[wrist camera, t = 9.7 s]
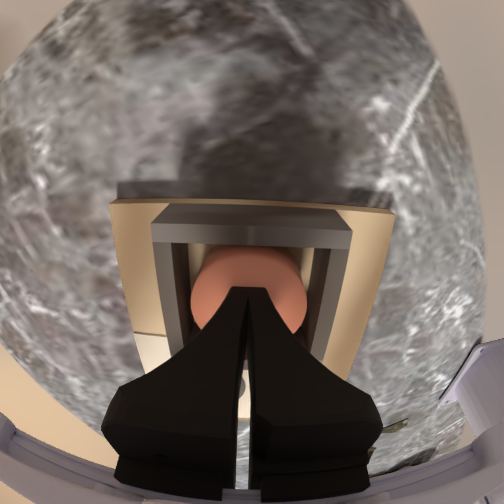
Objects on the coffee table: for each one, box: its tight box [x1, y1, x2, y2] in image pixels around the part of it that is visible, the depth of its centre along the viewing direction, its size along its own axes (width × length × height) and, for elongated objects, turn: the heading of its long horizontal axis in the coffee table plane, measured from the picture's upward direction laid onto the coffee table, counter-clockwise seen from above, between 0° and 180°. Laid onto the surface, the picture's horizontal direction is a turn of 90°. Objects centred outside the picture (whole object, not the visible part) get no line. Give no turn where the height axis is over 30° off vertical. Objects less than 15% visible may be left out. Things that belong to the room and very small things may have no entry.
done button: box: [191, 244, 307, 350], centre depth 12 cm, size 5×5×2 cm
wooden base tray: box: [109, 198, 395, 420], centre depth 14 cm, size 13×16×3 cm
